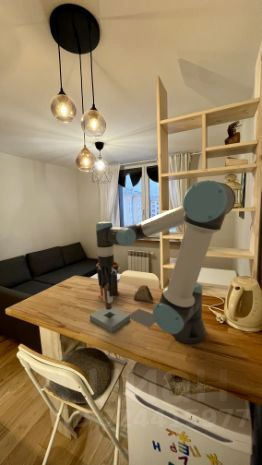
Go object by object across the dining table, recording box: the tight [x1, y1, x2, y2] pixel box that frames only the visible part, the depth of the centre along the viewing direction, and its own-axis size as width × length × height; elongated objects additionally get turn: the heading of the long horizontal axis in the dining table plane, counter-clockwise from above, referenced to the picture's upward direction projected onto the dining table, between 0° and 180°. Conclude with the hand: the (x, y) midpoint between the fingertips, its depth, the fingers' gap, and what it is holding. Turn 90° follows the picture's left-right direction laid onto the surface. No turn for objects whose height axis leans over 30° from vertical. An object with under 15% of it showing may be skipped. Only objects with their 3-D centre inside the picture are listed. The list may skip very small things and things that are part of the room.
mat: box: [129, 308, 156, 328], centre depth 98 cm, size 14×10×1 cm
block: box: [89, 305, 131, 333], centre depth 97 cm, size 16×12×3 cm
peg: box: [104, 284, 113, 310], centre depth 96 cm, size 3×3×12 cm
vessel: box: [95, 261, 120, 299], centre depth 125 cm, size 14×14×20 cm
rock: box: [133, 284, 153, 302], centre depth 117 cm, size 11×9×10 cm
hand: (108, 300), depth 96 cm, fingers closed on peg, 2 cm apart
